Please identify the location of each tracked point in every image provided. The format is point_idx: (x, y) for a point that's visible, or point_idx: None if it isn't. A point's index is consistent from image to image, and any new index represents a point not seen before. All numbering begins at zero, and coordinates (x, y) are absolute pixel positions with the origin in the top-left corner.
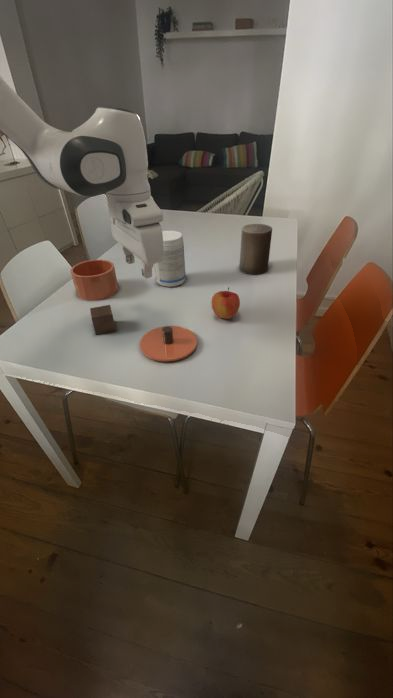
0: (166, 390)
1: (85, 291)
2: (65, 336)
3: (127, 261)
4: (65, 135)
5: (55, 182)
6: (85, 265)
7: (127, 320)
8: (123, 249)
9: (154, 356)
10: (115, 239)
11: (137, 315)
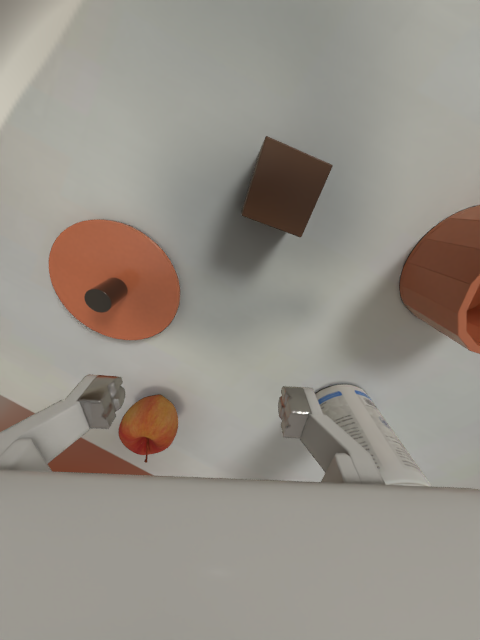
0: None
1: (471, 221)
2: (322, 44)
3: (289, 393)
4: None
5: None
6: None
7: (266, 261)
8: (340, 445)
9: (71, 233)
10: (450, 499)
11: (269, 290)
